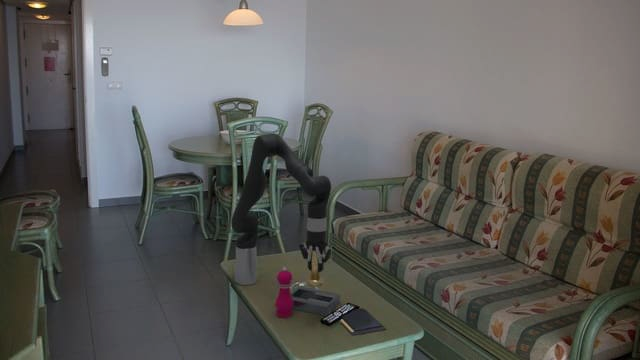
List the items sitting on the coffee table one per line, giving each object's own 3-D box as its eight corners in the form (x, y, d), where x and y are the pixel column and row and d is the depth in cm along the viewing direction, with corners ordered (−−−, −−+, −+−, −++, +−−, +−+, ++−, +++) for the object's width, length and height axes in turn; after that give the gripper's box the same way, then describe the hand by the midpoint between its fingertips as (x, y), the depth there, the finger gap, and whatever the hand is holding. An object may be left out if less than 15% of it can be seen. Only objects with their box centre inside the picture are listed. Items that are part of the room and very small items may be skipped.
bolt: (304, 284, 217) (304, 250, 214) (311, 278, 222) (311, 245, 219) (319, 287, 214) (320, 253, 211) (326, 281, 220) (326, 248, 217)
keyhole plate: (284, 306, 232) (284, 298, 231) (299, 294, 245) (299, 286, 244) (326, 316, 225) (327, 307, 224) (339, 302, 237) (340, 294, 236)
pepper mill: (286, 319, 221) (286, 272, 216) (271, 315, 224) (271, 268, 220) (296, 313, 227) (297, 266, 222) (282, 308, 230) (282, 262, 226)
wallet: (387, 327, 214) (351, 333, 209) (387, 331, 214) (350, 337, 209) (365, 305, 232) (331, 310, 227) (365, 309, 232) (331, 314, 227)
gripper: (295, 228, 213) (294, 270, 216) (329, 233, 207) (328, 277, 211) (303, 222, 219) (303, 264, 223) (337, 228, 214) (336, 270, 218)
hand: (315, 270), depth 217 cm, fingers closed on bolt, 3 cm apart
